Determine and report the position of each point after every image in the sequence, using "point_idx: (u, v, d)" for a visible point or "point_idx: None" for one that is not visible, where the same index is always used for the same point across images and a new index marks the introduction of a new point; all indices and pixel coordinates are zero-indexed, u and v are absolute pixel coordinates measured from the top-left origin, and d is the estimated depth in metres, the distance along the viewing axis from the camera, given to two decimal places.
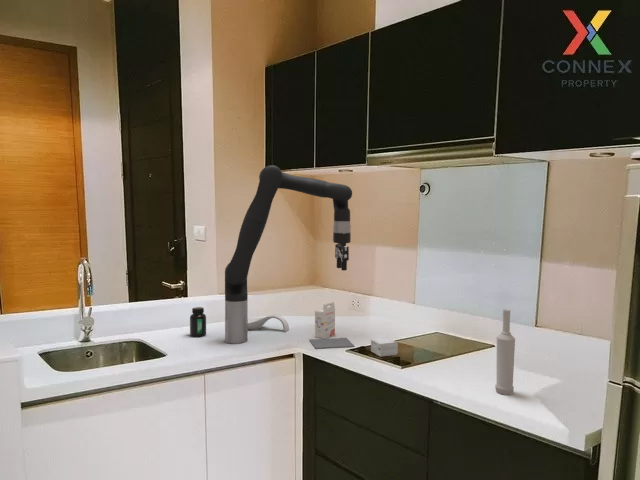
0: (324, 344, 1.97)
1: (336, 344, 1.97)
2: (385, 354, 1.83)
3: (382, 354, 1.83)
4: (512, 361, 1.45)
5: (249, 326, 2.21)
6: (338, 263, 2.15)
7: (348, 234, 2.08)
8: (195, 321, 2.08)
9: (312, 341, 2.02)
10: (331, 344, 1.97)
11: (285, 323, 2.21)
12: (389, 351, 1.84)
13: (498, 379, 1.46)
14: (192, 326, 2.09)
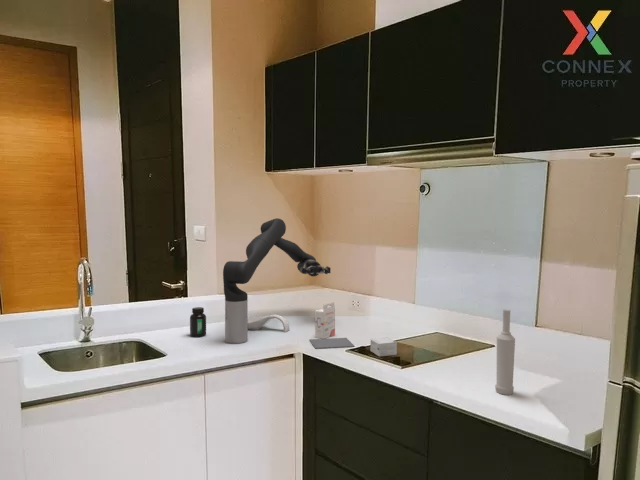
0: (324, 344, 1.97)
1: (336, 344, 1.97)
2: (384, 354, 1.83)
3: (381, 354, 1.83)
4: (512, 361, 1.45)
5: (250, 326, 2.22)
6: None
7: None
8: (195, 321, 2.08)
9: (312, 341, 2.02)
10: (331, 344, 1.97)
11: (285, 323, 2.20)
12: (389, 351, 1.84)
13: (498, 379, 1.46)
14: (192, 326, 2.09)
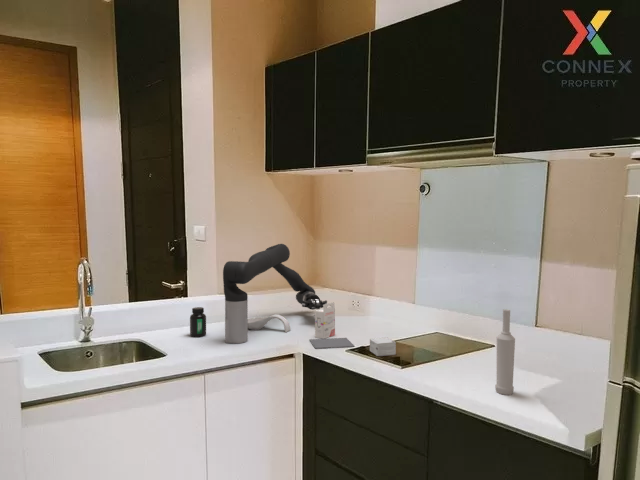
0: (324, 344, 1.97)
1: (336, 344, 1.97)
2: (383, 354, 1.84)
3: (379, 354, 1.83)
4: (512, 361, 1.45)
5: (251, 326, 2.22)
6: None
7: None
8: (195, 321, 2.08)
9: (312, 341, 2.02)
10: (331, 344, 1.97)
11: (286, 323, 2.20)
12: (387, 351, 1.84)
13: (498, 379, 1.46)
14: (192, 326, 2.09)
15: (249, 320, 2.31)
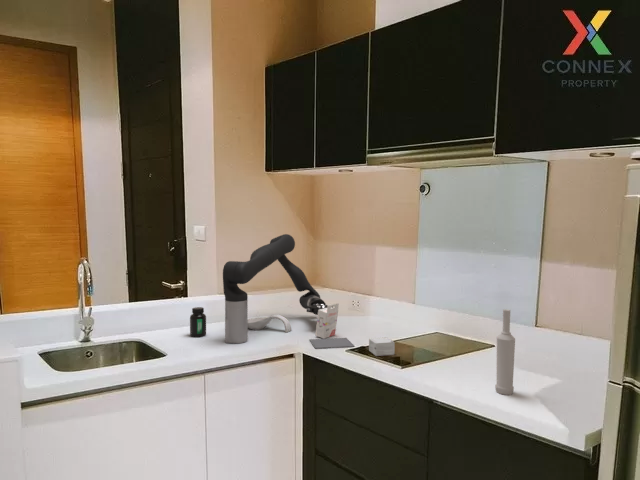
0: (324, 344, 1.97)
1: (336, 344, 1.97)
2: (381, 354, 1.84)
3: (378, 353, 1.84)
4: (512, 361, 1.45)
5: (252, 326, 2.22)
6: None
7: None
8: (195, 321, 2.08)
9: (312, 341, 2.02)
10: (331, 344, 1.97)
11: (287, 324, 2.20)
12: (386, 351, 1.84)
13: (498, 379, 1.46)
14: (192, 326, 2.09)
15: (251, 320, 2.31)
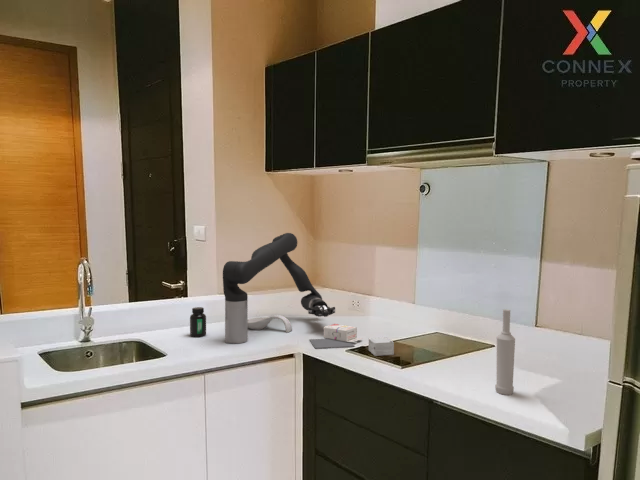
0: (324, 344, 1.97)
1: (336, 344, 1.97)
2: (380, 353, 1.84)
3: (377, 353, 1.84)
4: (512, 361, 1.45)
5: (252, 326, 2.22)
6: None
7: None
8: (195, 321, 2.08)
9: (312, 341, 2.02)
10: (331, 344, 1.97)
11: (287, 324, 2.19)
12: (385, 351, 1.84)
13: (498, 379, 1.46)
14: (192, 326, 2.09)
15: (252, 320, 2.31)
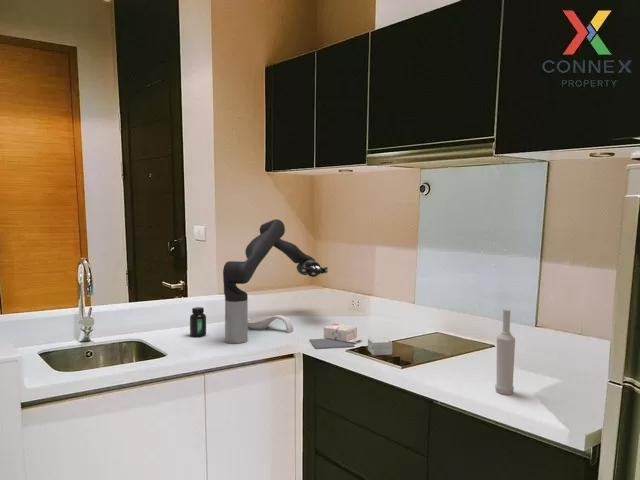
0: (324, 344, 1.97)
1: (336, 344, 1.97)
2: (378, 353, 1.84)
3: (375, 353, 1.84)
4: (512, 361, 1.45)
5: (254, 326, 2.22)
6: None
7: None
8: (195, 321, 2.08)
9: (312, 341, 2.02)
10: (331, 344, 1.97)
11: (289, 324, 2.19)
12: (383, 351, 1.85)
13: (498, 379, 1.46)
14: (192, 326, 2.09)
15: (254, 320, 2.31)
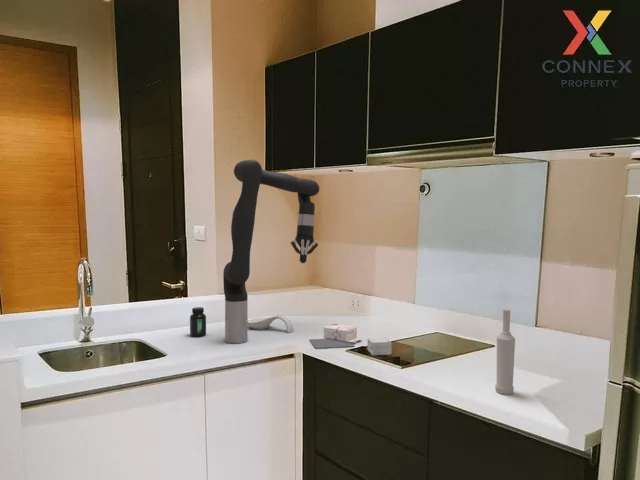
0: (324, 344, 1.97)
1: (336, 344, 1.97)
2: (378, 353, 1.85)
3: (374, 353, 1.84)
4: (512, 361, 1.45)
5: (254, 326, 2.22)
6: None
7: None
8: (195, 321, 2.08)
9: (312, 341, 2.02)
10: (331, 344, 1.97)
11: (289, 324, 2.19)
12: (382, 350, 1.85)
13: (498, 379, 1.46)
14: (192, 326, 2.09)
15: (255, 320, 2.32)
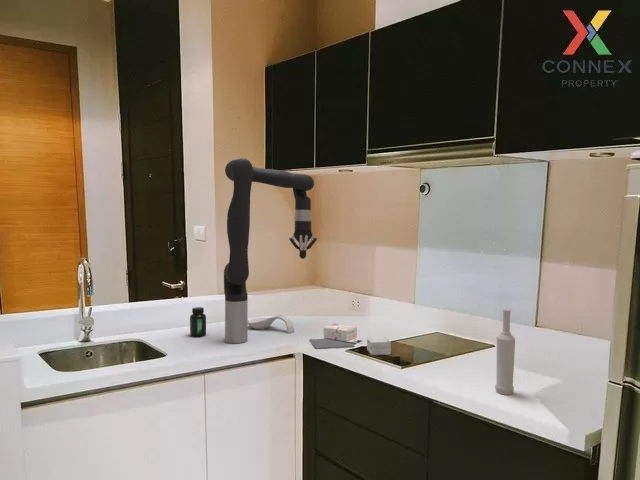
0: (324, 344, 1.97)
1: (336, 344, 1.97)
2: (377, 353, 1.85)
3: (374, 353, 1.85)
4: (512, 361, 1.45)
5: (255, 326, 2.22)
6: None
7: None
8: (195, 321, 2.08)
9: (312, 341, 2.02)
10: (331, 344, 1.97)
11: (289, 324, 2.18)
12: (382, 350, 1.85)
13: (498, 379, 1.46)
14: (192, 326, 2.09)
15: (256, 320, 2.32)
